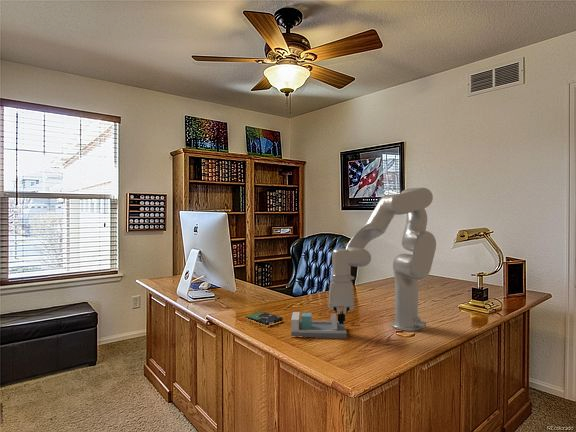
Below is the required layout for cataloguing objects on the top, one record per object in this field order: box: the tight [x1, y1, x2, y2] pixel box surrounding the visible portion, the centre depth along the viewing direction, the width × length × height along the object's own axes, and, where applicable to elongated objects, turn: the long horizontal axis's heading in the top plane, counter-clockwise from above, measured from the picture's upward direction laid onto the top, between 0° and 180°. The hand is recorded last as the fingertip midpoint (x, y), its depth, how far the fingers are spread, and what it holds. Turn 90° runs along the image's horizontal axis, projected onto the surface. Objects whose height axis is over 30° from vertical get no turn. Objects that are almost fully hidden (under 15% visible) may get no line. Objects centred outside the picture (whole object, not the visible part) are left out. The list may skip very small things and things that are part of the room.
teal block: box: [301, 312, 313, 330], centre depth 151 cm, size 4×5×6 cm
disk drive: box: [244, 311, 283, 325], centre depth 166 cm, size 10×3×15 cm
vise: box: [290, 311, 348, 339], centre depth 150 cm, size 22×12×7 cm, turn 86°
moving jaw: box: [330, 312, 338, 330], centre depth 150 cm, size 2×10×4 cm, turn 176°
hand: (341, 323), depth 149 cm, fingers closed
